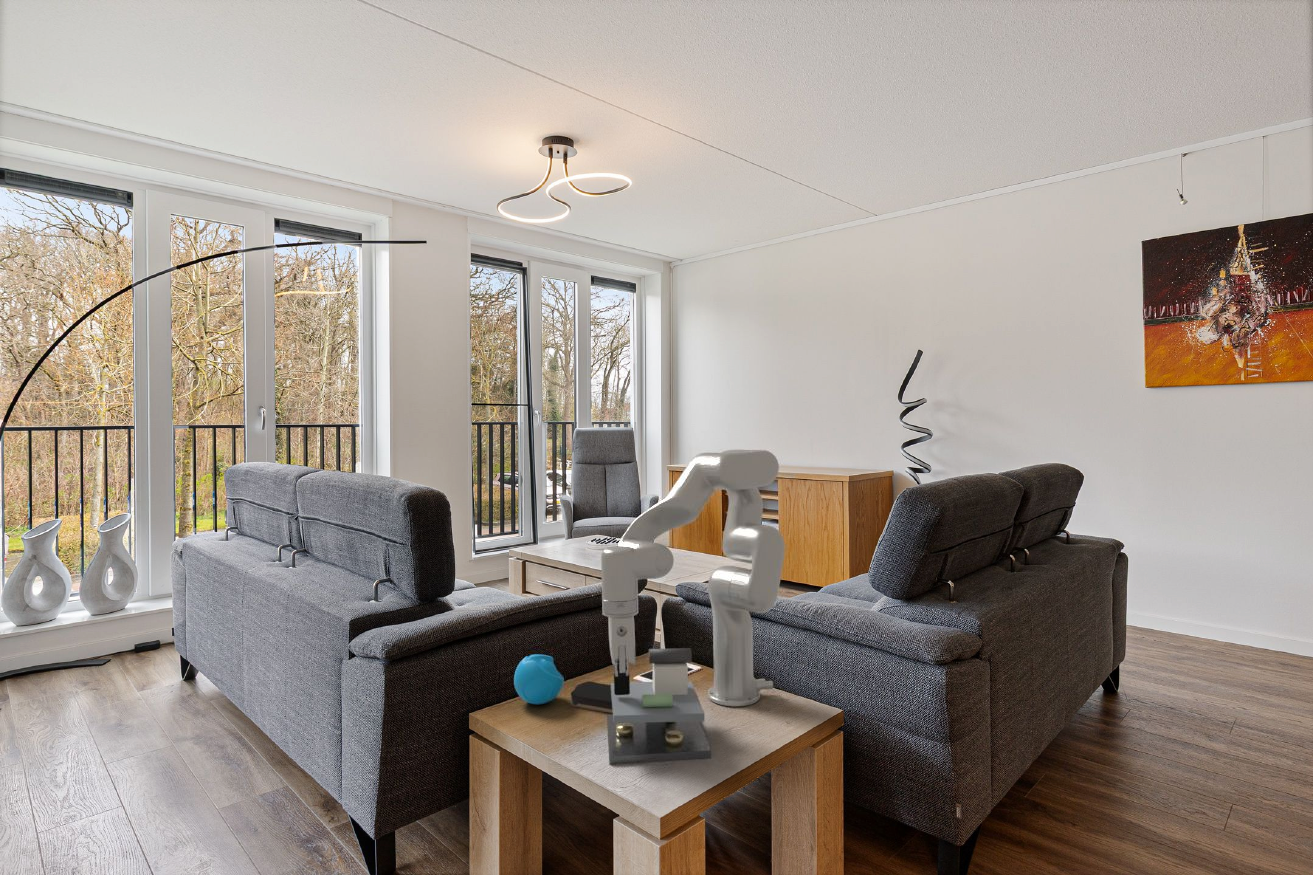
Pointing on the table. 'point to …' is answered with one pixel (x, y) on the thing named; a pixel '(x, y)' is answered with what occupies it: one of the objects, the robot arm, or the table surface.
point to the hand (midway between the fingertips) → (622, 693)
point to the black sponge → (592, 696)
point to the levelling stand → (655, 741)
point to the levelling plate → (655, 714)
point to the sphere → (537, 679)
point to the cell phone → (649, 675)
